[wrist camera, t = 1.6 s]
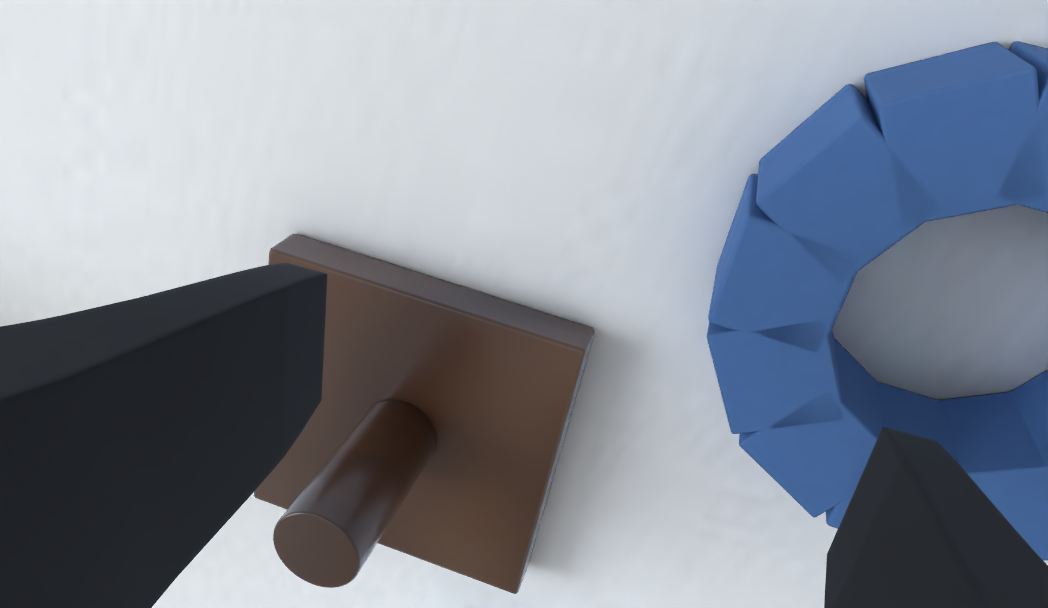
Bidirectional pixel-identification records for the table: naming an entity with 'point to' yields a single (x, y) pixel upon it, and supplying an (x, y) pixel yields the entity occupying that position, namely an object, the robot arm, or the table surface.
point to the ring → (854, 241)
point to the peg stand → (423, 424)
